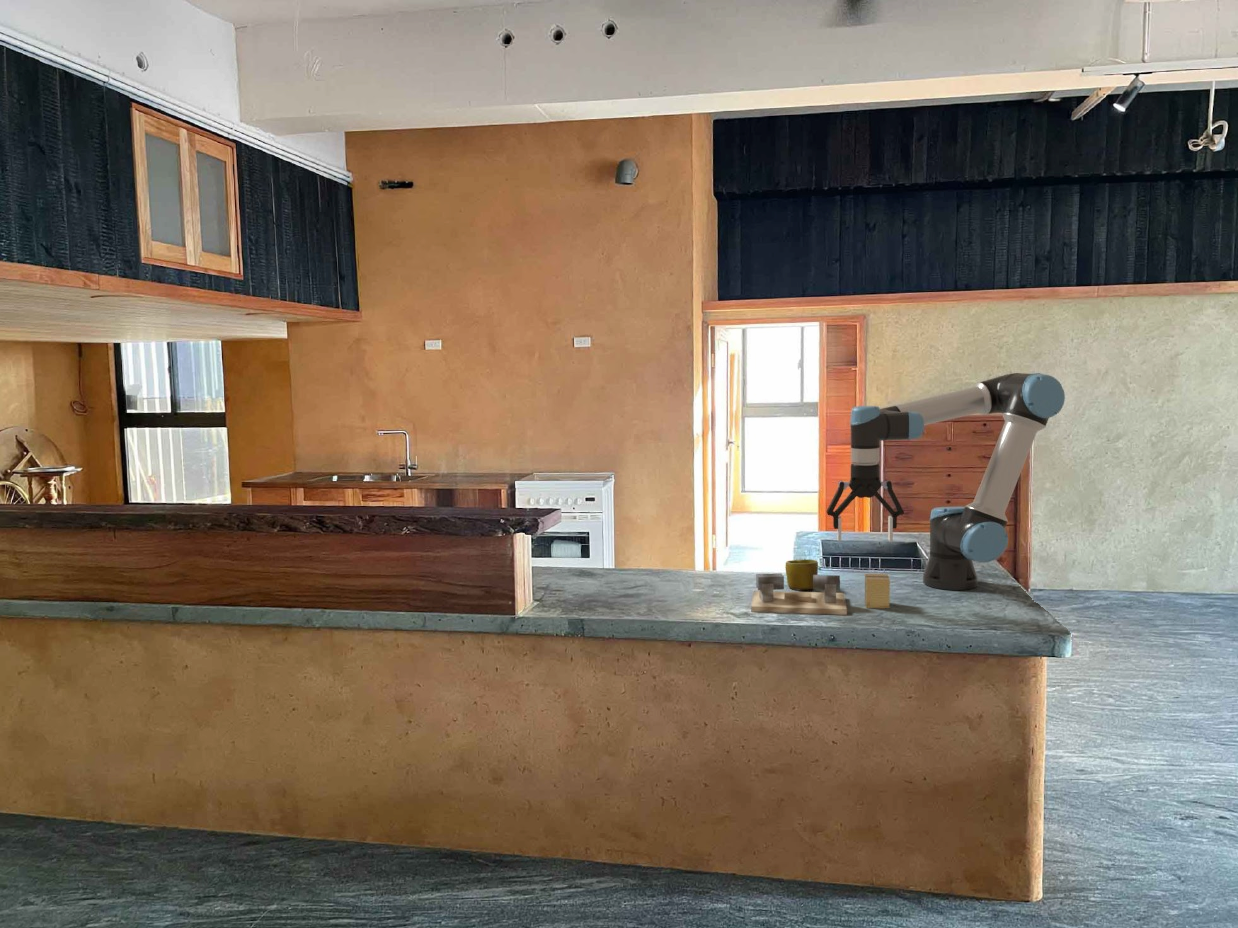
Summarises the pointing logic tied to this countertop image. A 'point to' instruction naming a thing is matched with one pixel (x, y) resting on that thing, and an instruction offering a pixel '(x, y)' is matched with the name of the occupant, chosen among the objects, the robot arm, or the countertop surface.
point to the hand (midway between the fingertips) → (864, 540)
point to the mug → (801, 573)
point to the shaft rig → (798, 596)
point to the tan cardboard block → (877, 590)
